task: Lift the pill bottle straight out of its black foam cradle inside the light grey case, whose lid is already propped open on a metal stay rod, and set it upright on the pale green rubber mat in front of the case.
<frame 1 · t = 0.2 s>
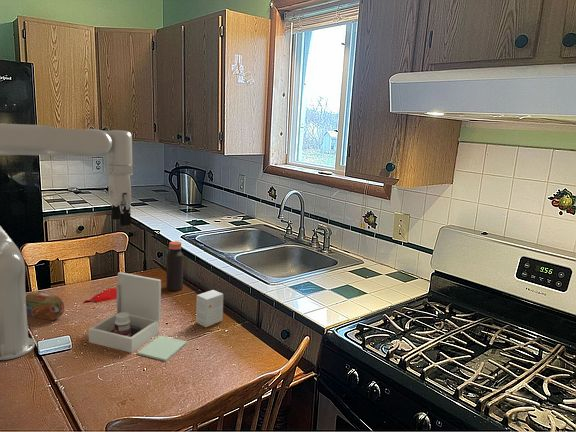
hand: (121, 222, 143), 36 cm above the table, tool pointing down, fingers open, 9 cm apart
pill bottle: (122, 339, 142), resting in equipment case
equipment case: (124, 337, 143), on the table
small box: (209, 322, 158), on the table
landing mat: (163, 348, 137), on the table
vinegar: (174, 288, 186), on the table
cloth: (114, 296, 177), on the table
tin: (44, 317, 153), on the table
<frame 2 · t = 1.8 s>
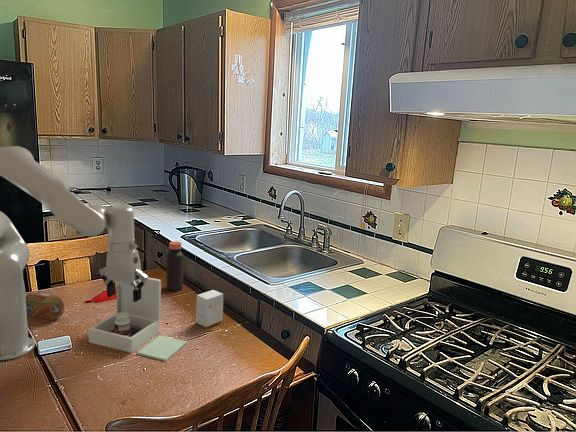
hand: (124, 297, 139), 14 cm above the table, tool pointing down, fingers open, 9 cm apart
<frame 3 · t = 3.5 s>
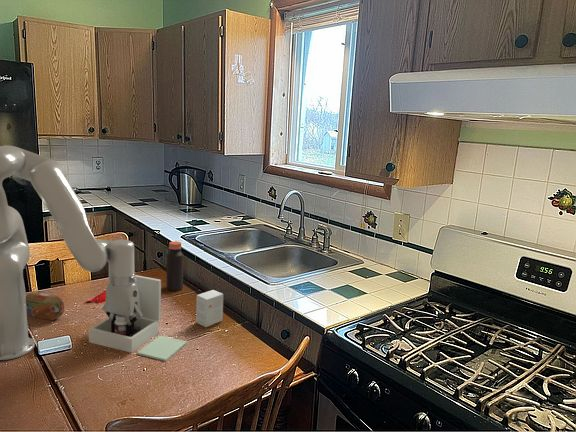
hand: (122, 332, 141), 2 cm above the table, tool pointing down, fingers closed on pill bottle, 4 cm apart
pill bottle: (122, 339, 142), resting in equipment case, touching gripper
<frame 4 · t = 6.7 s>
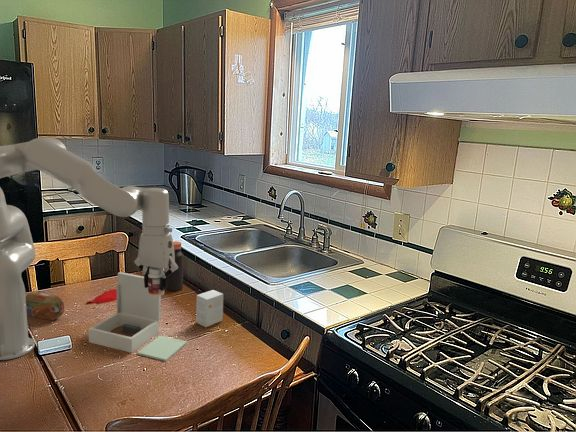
hand: (156, 287, 134), 20 cm above the table, tool pointing down, fingers closed on pill bottle, 4 cm apart
pill bottle: (156, 294, 135), point 17 cm above the table, touching gripper
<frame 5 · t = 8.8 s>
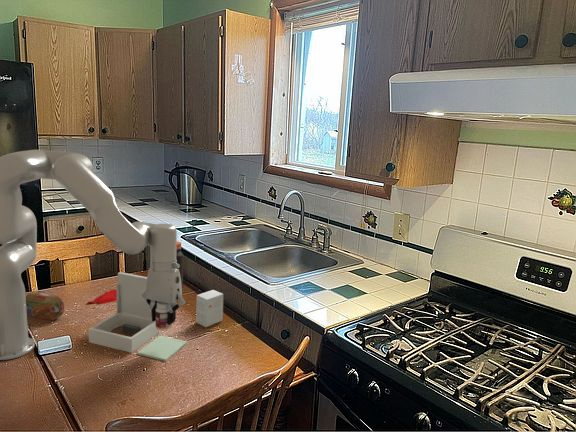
hand: (163, 320, 135), 9 cm above the table, tool pointing down, fingers closed on pill bottle, 4 cm apart
pill bottle: (163, 327, 136), point 7 cm above the table, touching gripper
when the fingers open (4 cm above the table, at t = 10.2 s): pill bottle drops 1 cm, resting on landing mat.
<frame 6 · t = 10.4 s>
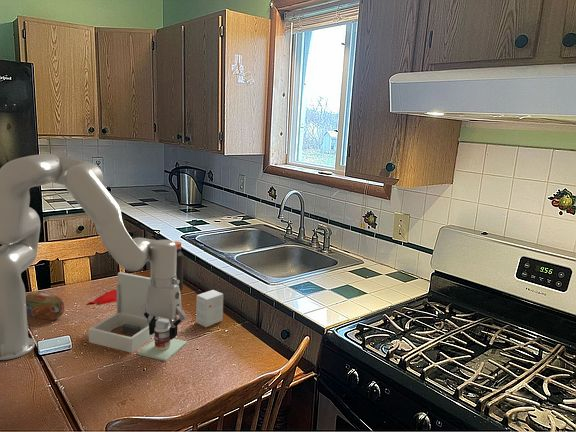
hand: (163, 334, 136), 5 cm above the table, tool pointing down, fingers open, 6 cm apart
pill bottle: (162, 347, 137), resting on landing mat
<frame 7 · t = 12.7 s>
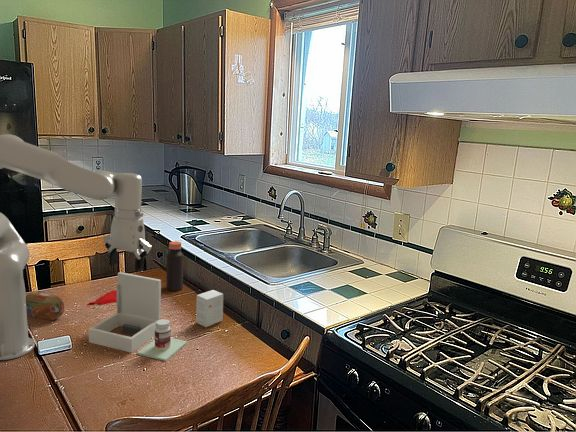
hand: (126, 267, 137), 24 cm above the table, tool pointing down, fingers open, 9 cm apart
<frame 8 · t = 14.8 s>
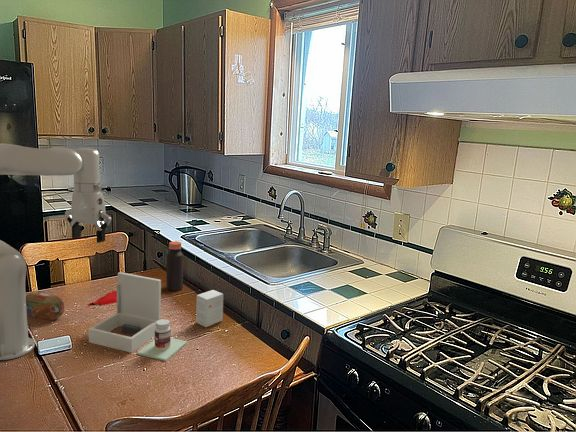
hand: (88, 239, 143), 30 cm above the table, tool pointing down, fingers open, 9 cm apart
at the end: pill bottle inside the target area on the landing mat (0.1 cm from its centre), point 0.4 cm above the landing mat's base; pill bottle tilted 0°; the gripper is holding nothing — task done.
